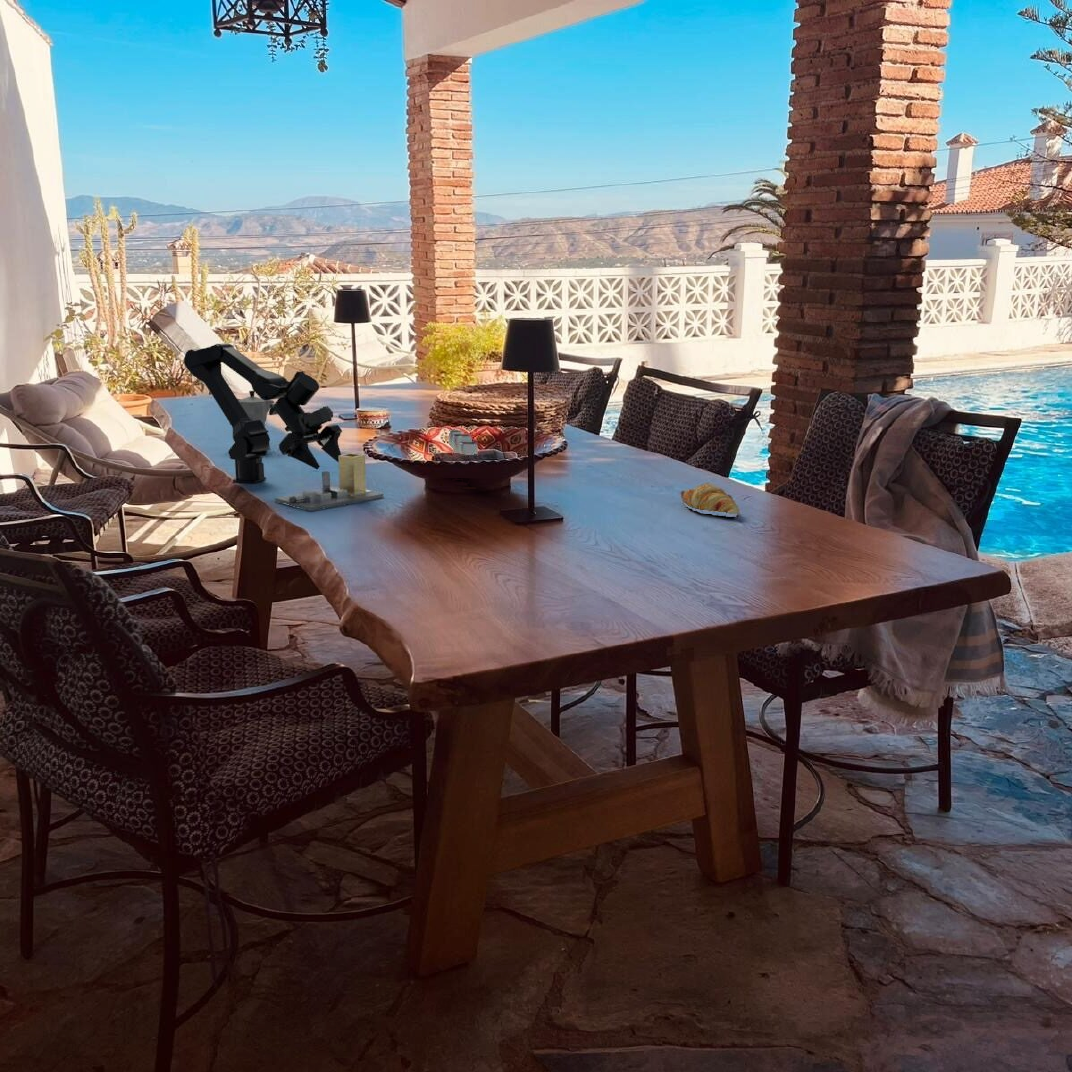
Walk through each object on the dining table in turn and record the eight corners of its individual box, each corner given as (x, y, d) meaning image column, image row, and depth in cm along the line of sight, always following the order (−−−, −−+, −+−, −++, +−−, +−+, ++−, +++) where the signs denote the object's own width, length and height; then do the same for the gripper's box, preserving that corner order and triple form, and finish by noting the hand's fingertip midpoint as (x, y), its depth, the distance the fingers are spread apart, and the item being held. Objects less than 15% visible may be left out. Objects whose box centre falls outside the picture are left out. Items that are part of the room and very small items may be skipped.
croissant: (745, 534, 242) (760, 503, 242) (717, 518, 237) (732, 486, 237) (689, 513, 260) (703, 484, 260) (661, 498, 255) (675, 469, 254)
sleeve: (339, 491, 257) (338, 455, 255) (351, 488, 261) (350, 453, 259) (354, 493, 255) (353, 457, 253) (365, 490, 259) (365, 454, 257)
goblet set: (481, 489, 269) (482, 438, 266) (460, 490, 267) (460, 439, 264) (450, 469, 295) (450, 423, 291) (431, 470, 293) (430, 423, 289)
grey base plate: (272, 502, 250) (271, 473, 248) (347, 489, 266) (347, 462, 264) (307, 512, 241) (306, 482, 239) (383, 497, 257) (382, 469, 255)
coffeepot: (277, 445, 327) (274, 388, 323) (276, 451, 319) (273, 392, 314) (226, 446, 324) (222, 389, 320) (224, 452, 315) (220, 392, 311)
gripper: (286, 400, 250) (323, 450, 248) (335, 393, 266) (371, 440, 264) (262, 429, 256) (299, 479, 254) (312, 420, 272) (346, 467, 270)
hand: (330, 465), depth 260 cm, fingers open, 9 cm apart
